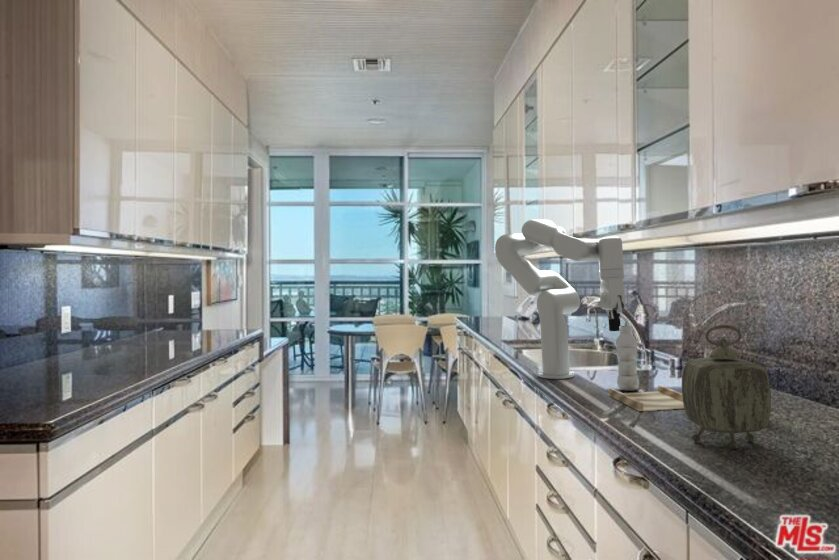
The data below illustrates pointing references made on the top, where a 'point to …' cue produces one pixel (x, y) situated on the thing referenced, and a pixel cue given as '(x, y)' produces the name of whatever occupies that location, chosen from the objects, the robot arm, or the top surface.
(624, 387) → the plastic bottle
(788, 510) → the top surface
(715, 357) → the tabletop clock
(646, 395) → the wooden tray
